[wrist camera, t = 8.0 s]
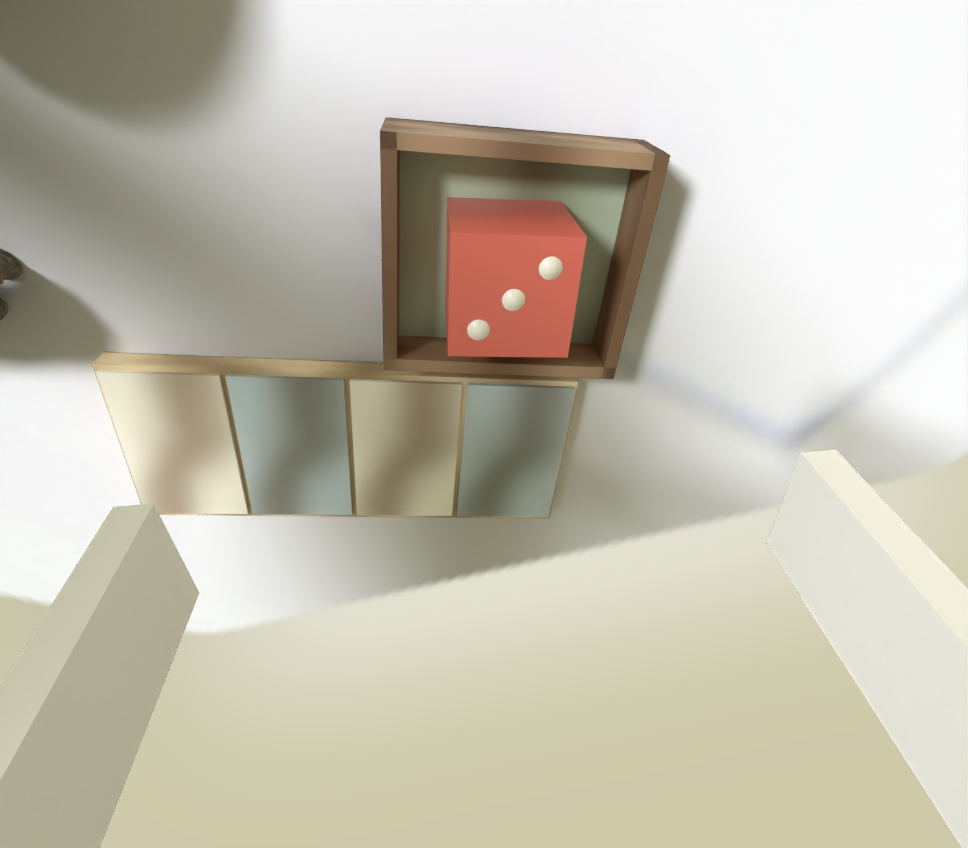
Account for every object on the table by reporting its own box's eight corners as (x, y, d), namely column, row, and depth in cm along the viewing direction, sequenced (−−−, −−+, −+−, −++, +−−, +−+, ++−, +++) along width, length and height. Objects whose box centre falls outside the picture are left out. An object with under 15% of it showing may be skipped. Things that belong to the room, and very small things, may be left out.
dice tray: (387, 337, 29) (383, 370, 26) (385, 117, 23) (380, 130, 21) (597, 346, 30) (613, 378, 28) (644, 140, 25) (670, 155, 22)
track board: (152, 500, 34) (143, 516, 33) (103, 352, 28) (89, 366, 27) (546, 504, 37) (549, 520, 36) (573, 370, 31) (579, 383, 30)
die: (445, 305, 27) (447, 356, 23) (446, 196, 24) (450, 233, 20) (547, 307, 28) (567, 357, 24) (561, 201, 25) (587, 237, 21)
